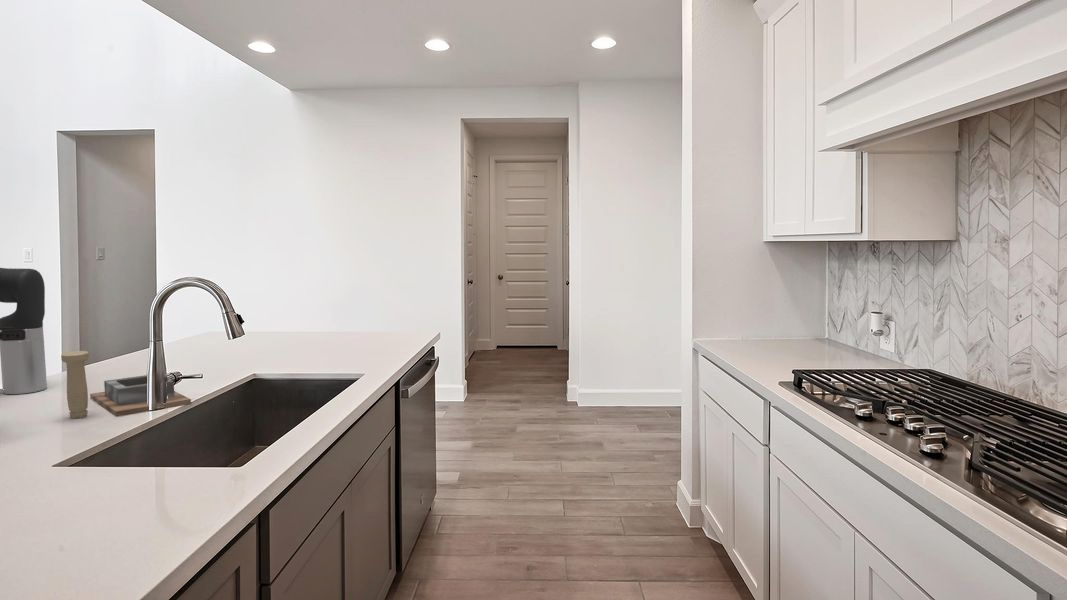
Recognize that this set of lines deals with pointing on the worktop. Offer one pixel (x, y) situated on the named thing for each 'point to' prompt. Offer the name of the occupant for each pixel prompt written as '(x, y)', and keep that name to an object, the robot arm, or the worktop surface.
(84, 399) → the handle
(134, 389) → the wooden base with tray
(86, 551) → the worktop surface
